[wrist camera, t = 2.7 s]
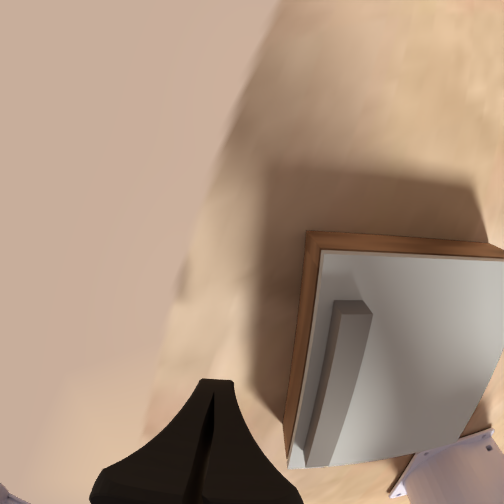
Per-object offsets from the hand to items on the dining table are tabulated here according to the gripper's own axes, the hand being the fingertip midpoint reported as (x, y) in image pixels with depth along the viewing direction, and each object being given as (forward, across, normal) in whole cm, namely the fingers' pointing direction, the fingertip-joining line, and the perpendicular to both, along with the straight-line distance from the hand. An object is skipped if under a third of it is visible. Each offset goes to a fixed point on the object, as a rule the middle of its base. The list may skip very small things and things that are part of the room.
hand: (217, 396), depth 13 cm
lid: (+1, -10, 0) cm, 10 cm away
